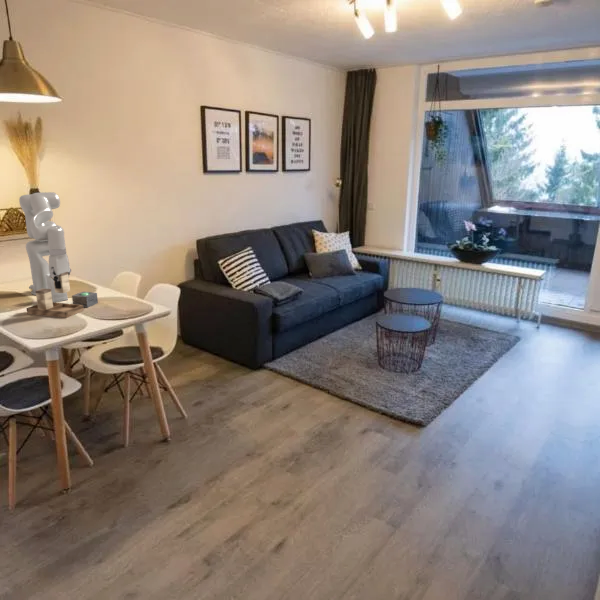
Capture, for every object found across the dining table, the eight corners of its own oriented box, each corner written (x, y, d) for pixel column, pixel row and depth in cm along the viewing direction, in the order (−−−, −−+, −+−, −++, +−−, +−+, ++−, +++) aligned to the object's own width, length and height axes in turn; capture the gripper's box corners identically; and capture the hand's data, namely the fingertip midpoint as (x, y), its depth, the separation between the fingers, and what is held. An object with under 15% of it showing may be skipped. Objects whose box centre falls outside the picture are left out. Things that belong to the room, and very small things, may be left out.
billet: (55, 292, 247) (52, 273, 244) (62, 290, 252) (59, 271, 249) (63, 293, 246) (61, 273, 243) (70, 290, 251) (68, 271, 248)
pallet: (27, 313, 250) (26, 308, 249) (45, 306, 262) (44, 301, 262) (66, 317, 245) (66, 312, 244) (83, 310, 257) (83, 305, 256)
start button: (79, 302, 265) (78, 294, 264) (84, 300, 269) (83, 292, 268) (86, 303, 264) (85, 294, 263) (90, 301, 268) (89, 292, 267)
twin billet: (38, 309, 253) (35, 290, 250) (45, 306, 258) (42, 288, 255) (46, 310, 252) (43, 291, 249) (53, 307, 256) (50, 289, 254)
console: (73, 306, 264) (71, 295, 262) (84, 301, 272) (82, 291, 271) (87, 307, 262) (86, 297, 260) (97, 303, 270) (96, 292, 269)
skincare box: (64, 297, 280) (60, 271, 275) (68, 300, 275) (65, 273, 271) (48, 300, 274) (45, 273, 270) (52, 302, 269) (49, 275, 265)
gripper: (63, 249, 252) (67, 282, 257) (39, 254, 236) (44, 290, 241) (75, 249, 250) (79, 283, 255) (52, 255, 234) (56, 291, 239)
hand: (62, 286), depth 248 cm, fingers closed on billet, 5 cm apart
